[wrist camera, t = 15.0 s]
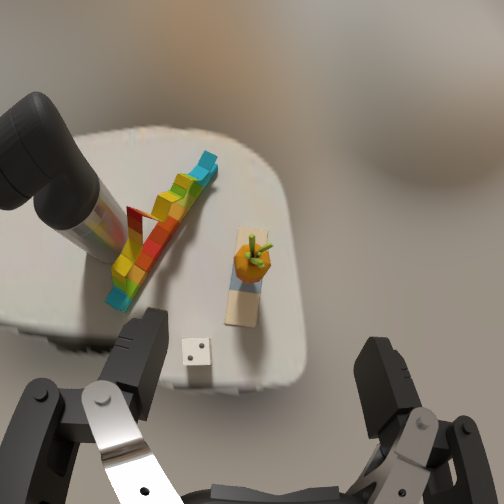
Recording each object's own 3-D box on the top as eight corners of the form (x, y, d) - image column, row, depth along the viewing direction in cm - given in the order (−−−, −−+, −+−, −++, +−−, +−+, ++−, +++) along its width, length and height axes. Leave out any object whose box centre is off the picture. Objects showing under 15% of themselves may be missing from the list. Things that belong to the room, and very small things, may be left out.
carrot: (235, 258, 49) (240, 225, 35) (264, 265, 50) (281, 235, 35) (228, 287, 48) (230, 265, 34) (258, 294, 48) (273, 276, 34)
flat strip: (224, 323, 47) (224, 323, 46) (239, 226, 51) (239, 226, 51) (255, 327, 47) (255, 327, 47) (267, 231, 51) (268, 230, 51)
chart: (203, 163, 54) (198, 110, 40) (217, 170, 54) (217, 118, 40) (111, 302, 46) (70, 288, 32) (125, 312, 46) (88, 302, 31)
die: (186, 362, 44) (183, 365, 41) (185, 338, 46) (181, 338, 42) (211, 362, 45) (210, 364, 41) (210, 337, 46) (208, 338, 42)
